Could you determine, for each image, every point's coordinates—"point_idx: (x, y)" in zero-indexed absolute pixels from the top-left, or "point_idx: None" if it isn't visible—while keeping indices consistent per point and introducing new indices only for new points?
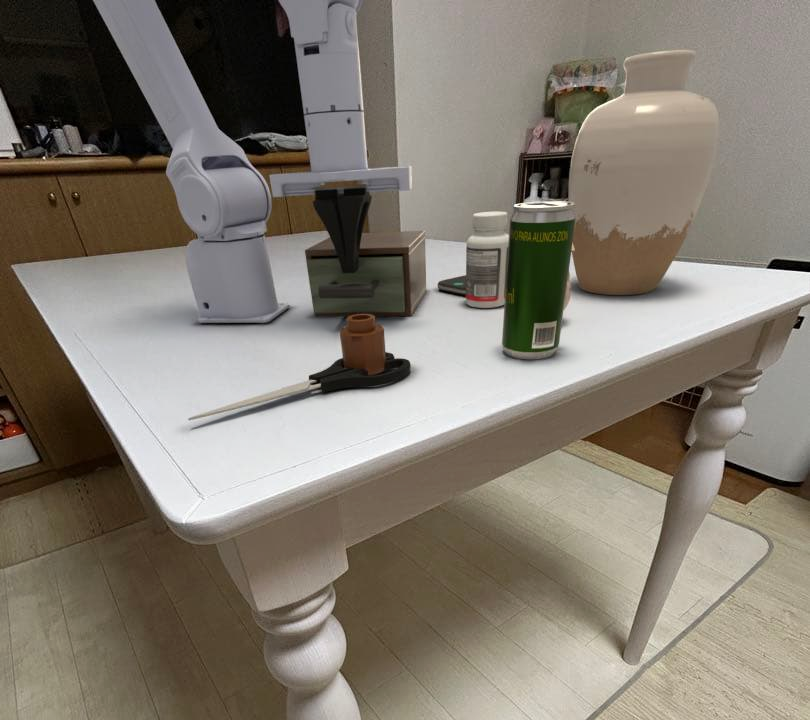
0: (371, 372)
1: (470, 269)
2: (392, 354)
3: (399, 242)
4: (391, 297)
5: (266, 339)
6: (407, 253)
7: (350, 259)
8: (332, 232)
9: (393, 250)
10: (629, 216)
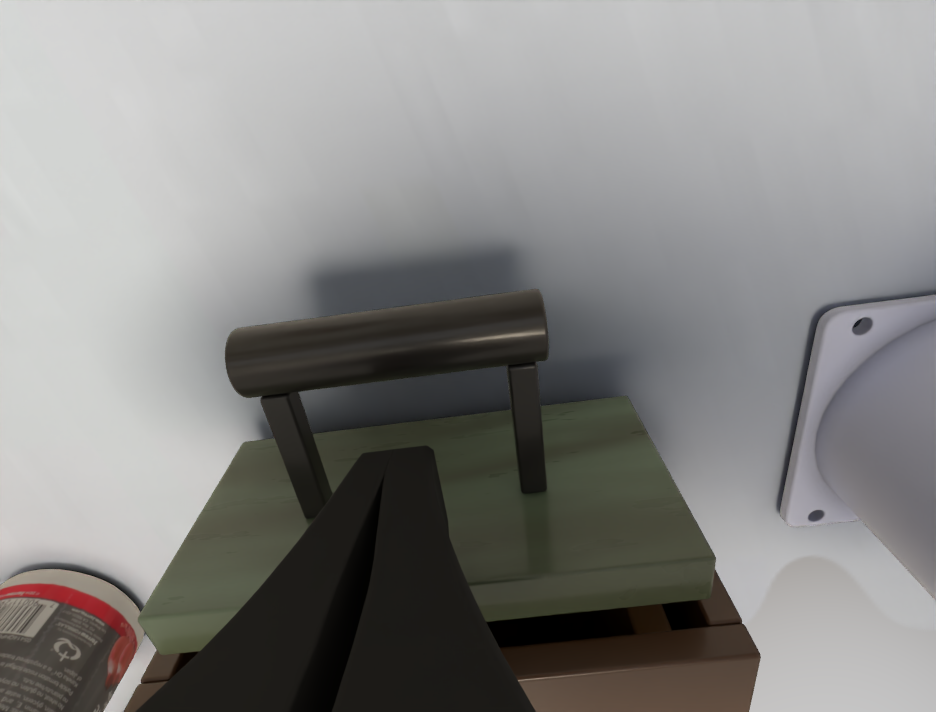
0: None
1: (17, 698)
2: None
3: None
4: (269, 472)
5: (765, 74)
6: (145, 684)
7: (348, 492)
8: (433, 618)
9: None
10: None
